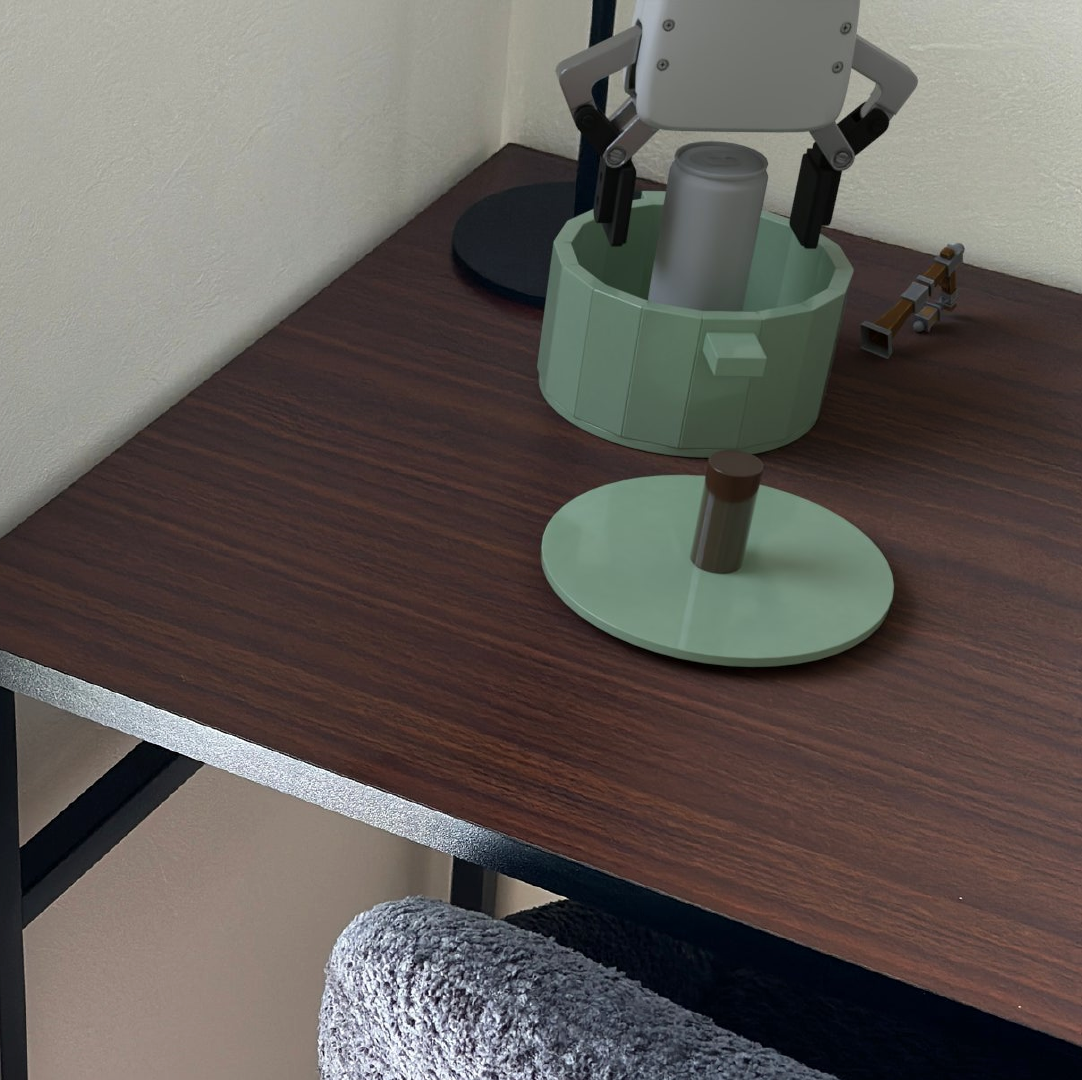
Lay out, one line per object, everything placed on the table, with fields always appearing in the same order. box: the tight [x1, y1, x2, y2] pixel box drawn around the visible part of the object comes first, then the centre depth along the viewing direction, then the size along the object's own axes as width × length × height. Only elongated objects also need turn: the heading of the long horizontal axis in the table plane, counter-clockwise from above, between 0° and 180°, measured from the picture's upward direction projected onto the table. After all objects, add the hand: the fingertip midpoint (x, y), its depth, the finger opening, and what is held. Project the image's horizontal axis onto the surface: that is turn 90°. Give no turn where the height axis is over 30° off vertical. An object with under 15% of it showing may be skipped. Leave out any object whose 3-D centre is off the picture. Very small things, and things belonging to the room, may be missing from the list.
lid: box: [539, 450, 895, 668], centre depth 95 cm, size 16×16×6 cm
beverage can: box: [648, 140, 769, 312], centre depth 108 cm, size 5×5×12 cm
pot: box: [536, 190, 855, 459], centre depth 109 cm, size 15×20×8 cm
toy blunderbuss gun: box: [859, 242, 966, 360], centre depth 117 cm, size 2×8×4 cm, turn 133°
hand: (707, 236), depth 106 cm, fingers open, 9 cm apart
